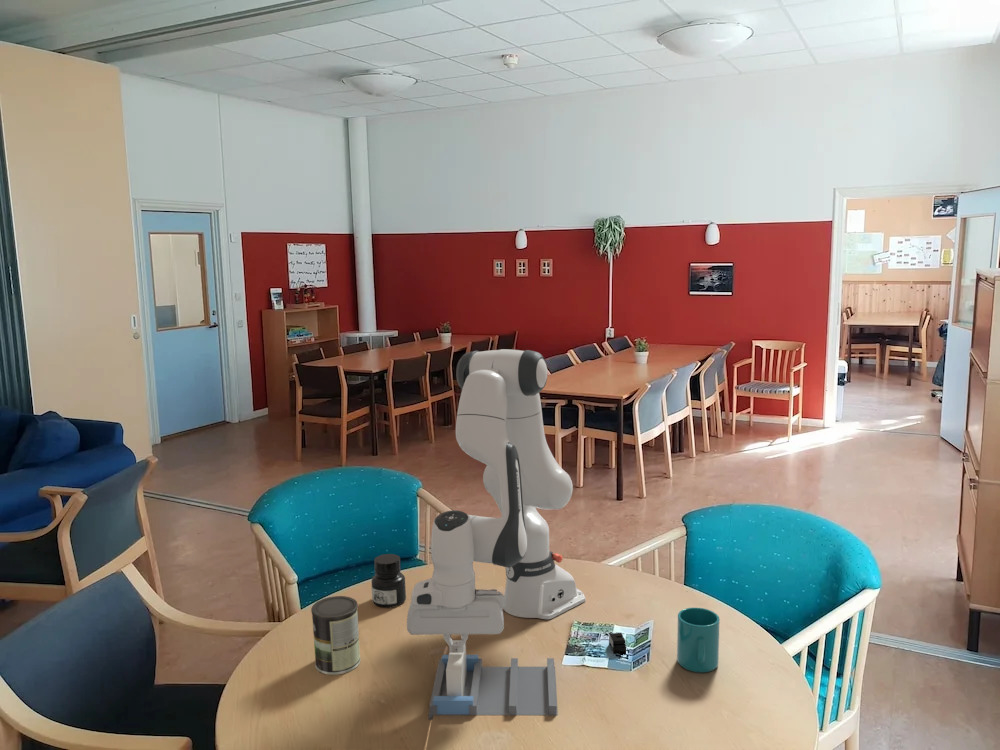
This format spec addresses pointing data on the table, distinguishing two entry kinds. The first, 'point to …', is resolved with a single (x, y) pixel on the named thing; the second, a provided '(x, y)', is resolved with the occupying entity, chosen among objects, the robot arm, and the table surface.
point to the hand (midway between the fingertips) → (456, 651)
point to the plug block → (456, 673)
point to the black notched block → (617, 643)
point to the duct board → (497, 690)
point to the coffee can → (336, 635)
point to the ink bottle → (388, 582)
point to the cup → (698, 639)
